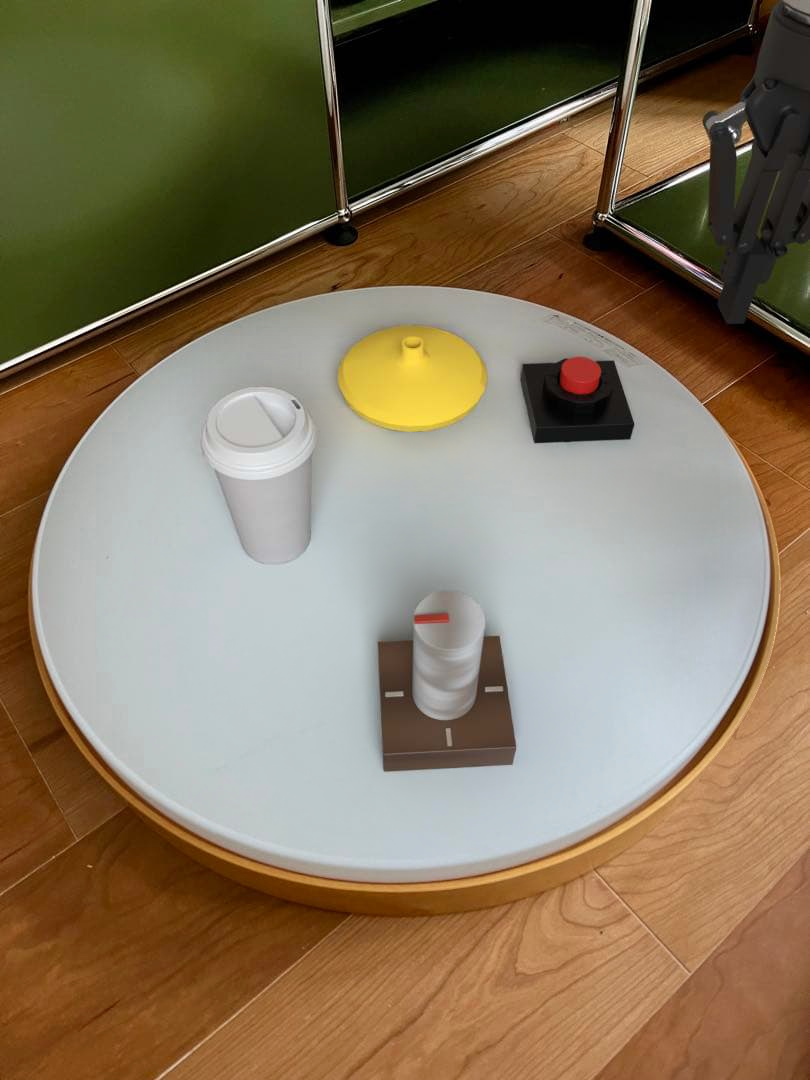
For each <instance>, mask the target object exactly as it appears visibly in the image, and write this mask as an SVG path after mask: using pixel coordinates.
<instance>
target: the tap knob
mask: <svg viewBox="0 0 810 1080" xmlns="http://www.w3.org/2000/svg"><path fill="white" fill-rule="evenodd" d="M412 626H413V628H412V629H413V630H412V640H413V678H412V694H413V699H414V702H415V704H416V705H417V707H418V708H419V709H420V710H421V711H422V712H423V713H424V714H426V715H427V716H429V717H431V718H434V719H438V720H453V719H456V718H459V717H461V716H463V715H464V714H466V713H467V712H468V711H469V710H470V709H471V708H472V706H473V704H474V702H475V699H476V693H477V685H478V677H479V670H480V662H481V654H482V646H483V638H484V636H485V629H486V615H485V612H484V610H483V607H482V606H481V605H480V603H479V602H478V601H477V600H475V599H474V598H473V597H472V596H470V595H468V594H466V593H465V592H461V591H456V590H441V591H440V590H439V591H436V592H433V593H431V594H429V595H427V596H426V597H424V598H423V599H422V600H421V601H420V602H419V603H418V605H416V608H415V610H414V613H413V625H412Z"/></svg>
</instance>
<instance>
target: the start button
mask: <svg viewBox="0 0 810 1080" xmlns="http://www.w3.org/2000/svg"><path fill="white" fill-rule="evenodd" d="M595 361H596V360H594V359H591V358H589V357H586V356H585V357H584V356H573V357H570V359H568V360H566V361H565V362H564V363H563V365H562V368H561V374H560V380H559V381H560V385H561V386H562V388H563V389H564V390H566V391H568V392H571V393H574V394H577V395H578V394H590V393H592V392H594V391H595V390H596V389H597V388H598V384H599V380H600V375H601V368H600V366H599V365H598V364H597V363H596V362H595Z"/></svg>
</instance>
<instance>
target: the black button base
mask: <svg viewBox="0 0 810 1080" xmlns="http://www.w3.org/2000/svg"><path fill="white" fill-rule="evenodd" d="M570 358H571V357H570ZM570 358H569V357H568V358H563V359H561V360H559V361H556V362H535V363H522V364H521V371H520V379H519V380H520V385H521V388H522V393H523V398H524V402H525V408H526V413H527V416H528V422H529V427H530V431H531V435H532V439H533V444H552V443H575V442H577V443H578V442H603V441H622V440H623V441H625V440H631V439H632V435H633V431H634V428H635V420H634V417H633V415H632V411H631V409H630V406H629V402H628V400H627V396H626V393H625V390H624V387H623V384H622V380H621V378H620V374H619V372H618V368H617V365H616V362H615V360H613V359H611V360H594V361H595V362H596V363H597V364H598V365H599V366H600V368H601V375H600V380H599V384H598V388H597V389H596V390H595V391H594V392H592V393H590V394H578V395H577V394H574V393H571V392H568V391H566V390H564V389H563V388H562V386H561V385H560V381H559V380H560V374H561V368H562V365H563V363H564V362H565V361H566V360H568V359H570Z"/></svg>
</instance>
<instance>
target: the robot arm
mask: <svg viewBox="0 0 810 1080" xmlns="http://www.w3.org/2000/svg"><path fill="white" fill-rule="evenodd" d="M755 66H756V67H755V71H754V73H753V74H754V75H753V76H752V78H751V80H750V82H749V83H748V84H747V85H746V87H745V88H744V89H743V90H742V92H741V94H740V99H739V102H738V103H735V104H734V105H733V106H731V107H729V108H727V109H725V110H724V111H722V112H721V113H720V112H718V111H717V110H710V111H707V112H706V113H705V114H704V115H703V117H702V120H701V121H702V125H703V128H704V131H705V133H706V135H707V138H708V140H709V173H708V174H709V175H708V176H709V177H708V178H709V179H708V208H707V209H708V211H707V212H708V213H707V227H708V230H709V232H710V233H711V236H712V237H713V239H714V242H715V244H716V245H717V246H718V247H720V248H725V249H724V251H723V255H722V258H721V262H720V265H719V267H718V275H719V278H720V279H721V282H722V283H723V286H722V289H721V292H720V295H719V298H718V301H717V306H718V310H719V311H720V313H721V315H722V317H723V319H724V323H725V324H726V325H735V324H739V325H740V324H745V322H746V319H747V316H748V313H749V311H750V307H751V305H752V302H753V299H754V297H755V294H756V291H757V288H758V285H762V284H763V285H765V284H767V283H768V281H769V280H770V278H771V276H772V274H773V271H774V268H775V265H776V262H777V260H778V259H780V258H783V257H785V256H786V255H787V254H788V253H789V249H788V248H787V246H788V245H791V244H794V243H796V244H798V245H804V244H806V243H808V242H809V241H810V0H779V1H778V2H777V3H776V4H774V5H773V6H772V9H771V12H770V16H769V18H768V22H767V25H766V29H765V33H764V35H763V40H762V43H761V46H760V49H759V52H758V55H757V61H756V65H755ZM746 122H747V125H748V127H749V130H750V132H751V135H752V136H753V140H752V143H751V156H750V160H749V163H748V166H747V169H746V172H745V175H744V179H743V181H742V185H741V188H740V191H739V195H738V198H737V201H736V204H735V200H736V199H735V198H736V184H737V183H736V182H737V181H736V180H737V164H738V163H737V161H738V160H737V159H738V158H737V157H738V155H737V149H736V146H735V145H737V144H739V143H740V141H741V137H742V133H743V131H742V130H743V126H744V124H745V123H746ZM763 217H764V218H763ZM758 232H760V236H759V235H758Z"/></svg>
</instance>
